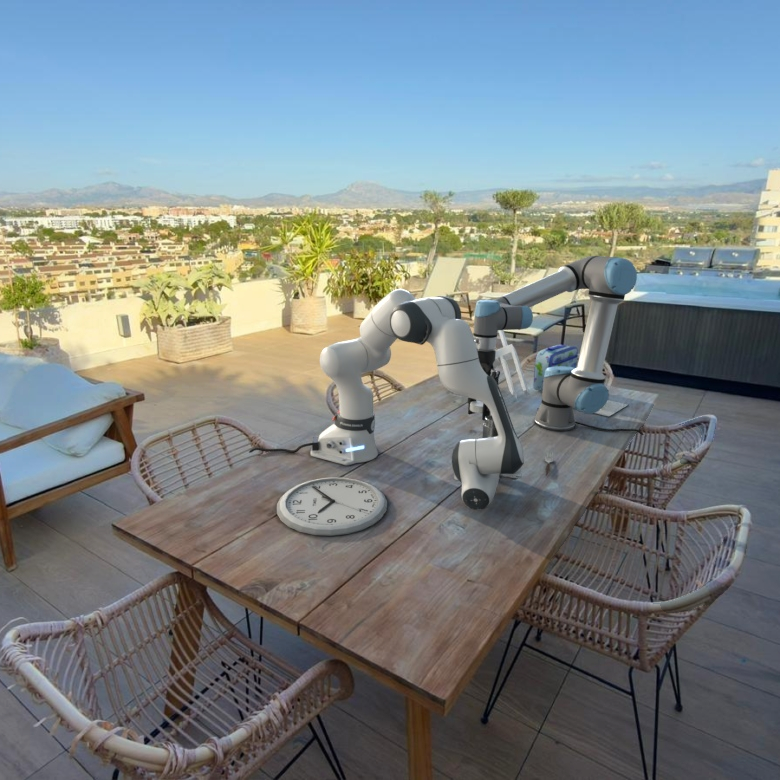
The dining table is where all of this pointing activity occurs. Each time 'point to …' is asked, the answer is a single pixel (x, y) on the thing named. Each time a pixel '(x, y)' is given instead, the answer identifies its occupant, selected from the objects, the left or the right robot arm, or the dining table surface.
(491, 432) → the jar
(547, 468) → the fork
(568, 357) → the lunch box
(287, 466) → the dining table surface
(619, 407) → the invitation card
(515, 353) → the white plastic object
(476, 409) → the lid
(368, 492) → the wall clock
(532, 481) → the dining table surface
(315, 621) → the dining table surface
